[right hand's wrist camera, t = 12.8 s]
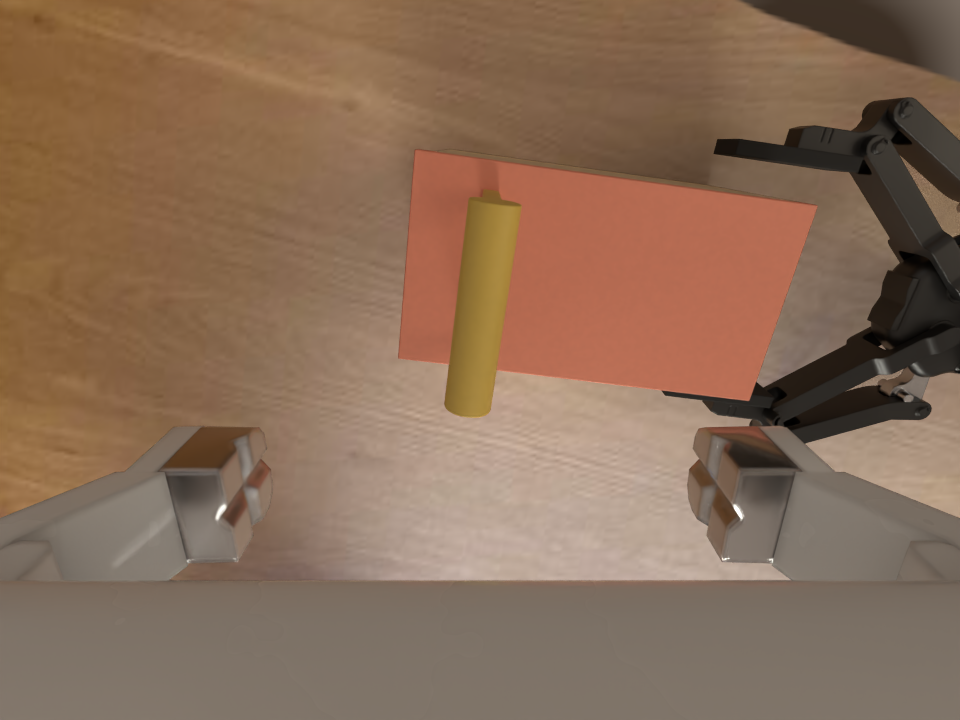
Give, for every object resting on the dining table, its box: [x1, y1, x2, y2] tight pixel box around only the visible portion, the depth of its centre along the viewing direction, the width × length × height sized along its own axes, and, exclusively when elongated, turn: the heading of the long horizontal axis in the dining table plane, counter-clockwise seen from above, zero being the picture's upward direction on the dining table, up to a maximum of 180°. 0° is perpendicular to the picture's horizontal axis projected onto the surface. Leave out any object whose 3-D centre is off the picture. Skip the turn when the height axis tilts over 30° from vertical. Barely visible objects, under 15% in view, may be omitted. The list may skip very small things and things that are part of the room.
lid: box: [398, 149, 818, 418], centre depth 22 cm, size 18×10×8 cm, turn 83°
